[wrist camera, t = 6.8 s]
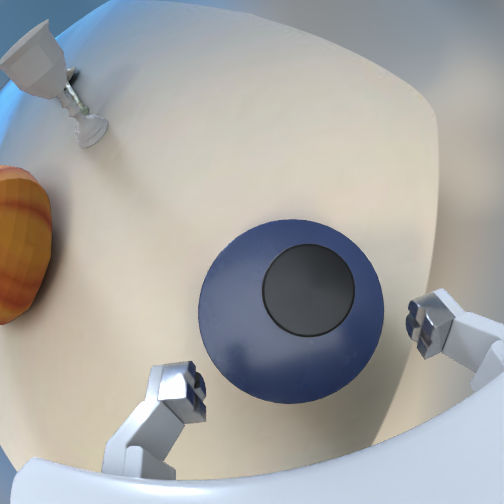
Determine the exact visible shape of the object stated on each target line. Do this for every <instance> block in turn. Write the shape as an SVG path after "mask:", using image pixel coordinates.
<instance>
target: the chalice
mask: <svg viewBox="0 0 504 504" xmlns="http://www.w3.org/2000/svg"><path fill="white" fill-rule="evenodd" d="M0 70H3V71H4V72H5V73H6V74H7V75H8V76H9V78H10V79H11V80H12V81H13V82H14V83H15V84H16V86H17V87H18V88H19V89H20V90H21V91H24V92H26V93H29V94H31V95H34V96H38V97H42V98H45V99H53V98H55V97H57V98H59V99H60V101H61V103H62V107H63V108H67V109H68V110H69V117H74V118H76V119H77V121H78V123H77V126H76V131H75V134H76V136H77V140H78V144H79V146H80V147H82V148H87V147H89V146H92V145H93V144H95V143H96V142H97V141H98V140H100V139H101V137H102V136H103V135H104V134H105V132H106V130H107V127H108V121H107V120H106V119H103V118H101V117H99V116H97V115H87V116H84V115H82V114H81V112H80V106H76V105H74V104H73V101H72V99H73V98H72V97H69V96H67V95H66V94H65V92H64V88H65V87H66V85H67V75H66V63H65V58H64V53H63V50H62V49H61V47H60V46H59V44H58V43H57V42H56V40H55V39H54V37H53V36H52V34H51V32H50V31H49V20H46V21H44V22H42V23H40V24H39V25H37V26H36V27H35V28H33V29H32V30H31V31H29V32H28V33H27V34H26V35H24V36H23V37H22V38H21V39H20V40H19V41H18V42H17V43H16V44H15V45H14V46H12V47H11V49H9V51H8V52H7V53H6V54H5V55H4V56H3V57H2V58H1V60H0Z"/></svg>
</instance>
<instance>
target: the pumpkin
mask: <svg viewBox="0 0 504 504" xmlns="http://www.w3.org/2000/svg"><path fill="white" fill-rule="evenodd" d="M51 243H52V220H51V208H50V202H49V198H48V196H47V194H46V192H45V190H44V189H43V188H42V186H41V185H40V184H39V183H38V181H37V180H36V179H35V178H34V177H33V176H32V175H31V174H30V172H28V171H26V170H24V169H22V168H17V167H13V166H6V165H0V325H4V324H6V323H8V322H11V321H12V320H14V319H15V318H17V317H18V316H19V315H21V314H22V313H24V312H25V311H26V310H27V309H28V308H29V307H30V306H31V305H32V303H33V301H34V298H35V296H36V294H37V292H38V290H39V288H40V286H41V284H42V281H43V278H44V275H45V272H46V269H47V266H48V263H49V261H50V258H51Z"/></svg>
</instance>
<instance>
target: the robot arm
mask: <svg viewBox="0 0 504 504" xmlns="http://www.w3.org/2000/svg"><path fill="white" fill-rule="evenodd" d="M408 309H409V311H410V313H409V314H408V316H407V317H406V330H407V332H408V335H409V336H410V338H411V340H413V341H416V342H417V349H418V350H419V352H420V353H421V355H422V356H423V358H424V359H427V358H429V357H432V356H434V355H436V354H438V353H440V352H442V353H443V354H445V355H446V356H448V357H450V358H451V359H454V360H455V361H457V362H459V363H460V364H462V365H464V366H465V367H467V368H469V369H470V370H472V371H474V372H475V373H476V374H475V375H474V377H473V379H472V380H471V383H470V386H471V387H472V389H473V391H474V394H472V395H471V396H469V397H468V398H466V399H464V400H463V401H462V402H460V403H458V404H457V405H455V406H453V407H452V408H450V409H448V410H446V411H445V412H443V413H441V414H439V415H438V416H436V417H434V418H432V419H430V420H428V421H427V422H424V423H423V424H421V425H419V426H417V427H415V428H412V429H410V430H408V431H406V432H404V433H402V434H400V435H397V436H395V437H393V438H391V439H388V440H386V441H383V442H381V443H378V444H376V445H373V446H370V447H368V448H365V449H362V450H359V451H356V452H354V453H351V454H348V455H344V456H341V457H338V458H335V459H331V460H328V461H324V462H320V463H317V464H313V465H309V466H304V467H300V468H295V469H291V470H286V471H280V472H275V473H269V474H262V475H255V476H248V477H239V478H228V479H213V480H176V470H175V469H174V468H173V467H171V466H170V465H168V464H166V463H165V462H163V461H164V460H165V458H166V456H167V455H168V453H169V451H170V450H171V448H172V446H173V445H174V443H175V441H176V440H177V438H178V436H179V435H180V433H181V431H182V430H183V428H184V426H185V425H184V424H190V423H199V422H206V406H205V405H204V403H203V400H204V399H205V397H206V387H205V382H204V380H203V377H202V376H201V374H200V373H198V372H196V366H195V365H194V363H193V362H192V361H187V362H179V363H171V364H163V365H154V366H152V368H151V370H150V375H149V380H148V386H147V391H146V397H145V402H141V403H140V404H139V405H138V407H137V408H136V409H135V410H134V411H133V412H132V414H131V415H130V416H129V417H128V418H127V420H126V421H125V422H124V423H123V424H122V425H121V427H120V428H119V429H118V430H117V431H116V432H115V434H114V435H113V436H112V437H111V438H110V439H109V441H108V442H107V443H106V448H105V453H104V459H103V465H102V472H101V473H99V472H94V471H88V470H84V469H79V468H75V467H71V466H67V465H63V464H59V463H56V462H52V461H49V460H46V459H42V458H38V457H34V458H31V459H30V460H29V461H28V462H27V463H26V464H25V465H24V466H23V467H22V468H21V469H20V470H19V471H18V473H17V474H16V475H15V478H14V481H13V485H12V491H11V500H10V504H504V324H501V323H499V322H496V321H493V320H491V319H488V318H485V317H483V316H480V315H477V314H474V313H472V312H469V311H468V312H465V311H464V310H463V309H462V308H461V307H460V305H459V304H458V303H457V302H456V301H455V300H454V299H453V298H452V297H451V296H450V295H449V294H448V293H447V292H446V290H444V289H442V288H440V289H438V290H436V291H433V292H431V293H428V294H426V295H423V296H421V297H419V298H416V299H414V300H411V301H410V303H409V306H408Z"/></svg>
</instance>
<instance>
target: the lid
mask: <svg viewBox="0 0 504 504" xmlns="http://www.w3.org/2000/svg"><path fill="white" fill-rule="evenodd" d="M383 319H384V302H383V294H382V290H381V285H380V282H379V280H378V277H377V274H376V272H375V270H374V268H373V266H372V264H371V263H370V261H369V260H368V258H367V257H366V255H365V254H364V253H363V252H362V251H361V250H360V248H359V247H358V246H357V245H356V244H354V243H353V242H352V241H351V240H350V239H349V238H347V237H346V236H344V235H343V234H341V233H340V232H338V231H336V230H334V229H332V228H330V227H328V226H325V225H322V224H319V223H316V222H311V221H307V220H296V219H290V220H279V221H273V222H269V223H265V224H262V225H259V226H257V227H254V228H252V229H250V230H248V231H246V232H245V233H243V234H241V235H240V236H238V237H237V238H236V239H234V240H233V241H232V242H231V243H229V244H228V245H227V246H226V247H225V248H224V249H223V250H222V251H221V253H220V254H219V255H218V256H217V258H216V259H215V260H214V262H213V264H212V265H211V267H210V269H209V271H208V272H207V275H206V277H205V280H204V282H203V285H202V289H201V293H200V298H199V306H198V320H199V327H200V333H201V337H202V340H203V343H204V346H205V348H206V351H207V353H208V355H209V357H210V358H211V360H212V362H213V363H214V365H215V366H216V367H217V369H218V370H219V371H220V372H221V374H222V375H223V376H224V377H225V378H227V379H228V380H229V381H230V382H231V383H232V384H233V385H235V386H236V387H238V388H239V389H240V390H242V391H244V392H246V393H248V394H250V395H251V396H254V397H257V398H259V399H262V400H265V401H270V402H274V403H284V404H296V403H305V402H310V401H315V400H318V399H321V398H324V397H326V396H328V395H330V394H332V393H335V392H337V391H338V390H340V389H341V388H343V387H344V386H346V385H347V384H348V383H349V382H351V381H352V380H353V379H354V378H355V377H356V376H357V375H358V374H359V373H360V372H361V371H362V370H363V368H364V367H365V366H366V364H367V363H368V361H369V360H370V358H371V357H372V355H373V353H374V351H375V349H376V347H377V344H378V341H379V338H380V335H381V331H382V326H383Z"/></svg>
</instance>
